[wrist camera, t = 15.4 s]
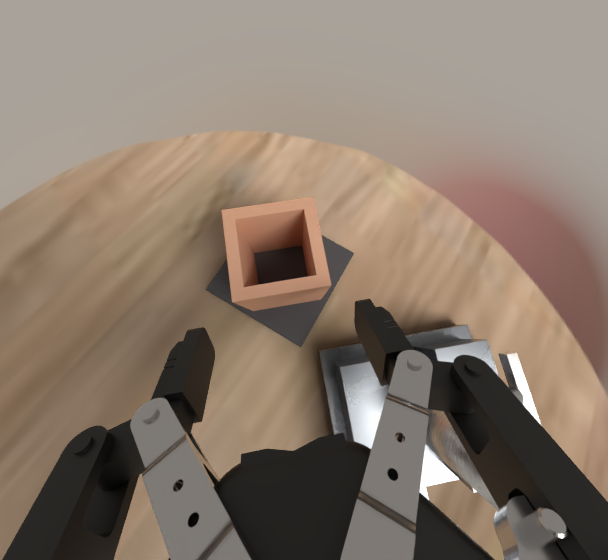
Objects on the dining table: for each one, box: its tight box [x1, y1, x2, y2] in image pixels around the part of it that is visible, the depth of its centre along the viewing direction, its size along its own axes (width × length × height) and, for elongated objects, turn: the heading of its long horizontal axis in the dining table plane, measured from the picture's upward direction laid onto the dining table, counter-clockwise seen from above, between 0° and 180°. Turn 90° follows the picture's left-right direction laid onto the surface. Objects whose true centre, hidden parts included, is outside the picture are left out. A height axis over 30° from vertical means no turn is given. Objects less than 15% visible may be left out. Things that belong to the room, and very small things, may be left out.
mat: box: [206, 235, 354, 347], centre depth 22 cm, size 10×10×1 cm
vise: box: [318, 325, 541, 510], centre depth 16 cm, size 15×11×10 cm
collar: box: [222, 197, 331, 311], centre depth 19 cm, size 6×6×7 cm
